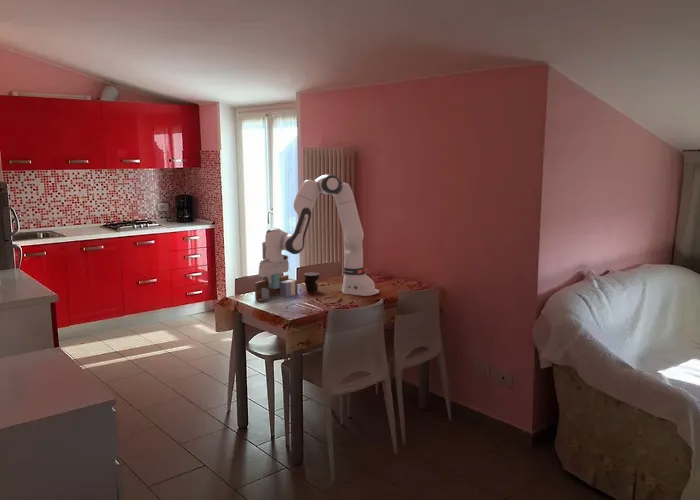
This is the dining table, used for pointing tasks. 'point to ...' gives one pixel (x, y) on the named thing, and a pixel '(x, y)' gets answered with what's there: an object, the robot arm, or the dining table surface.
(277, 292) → the walnut rack
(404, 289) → the dining table surface
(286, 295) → the slate book
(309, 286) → the coffee mug
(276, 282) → the teal rectangular block
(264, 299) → the bookend
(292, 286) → the cream book
